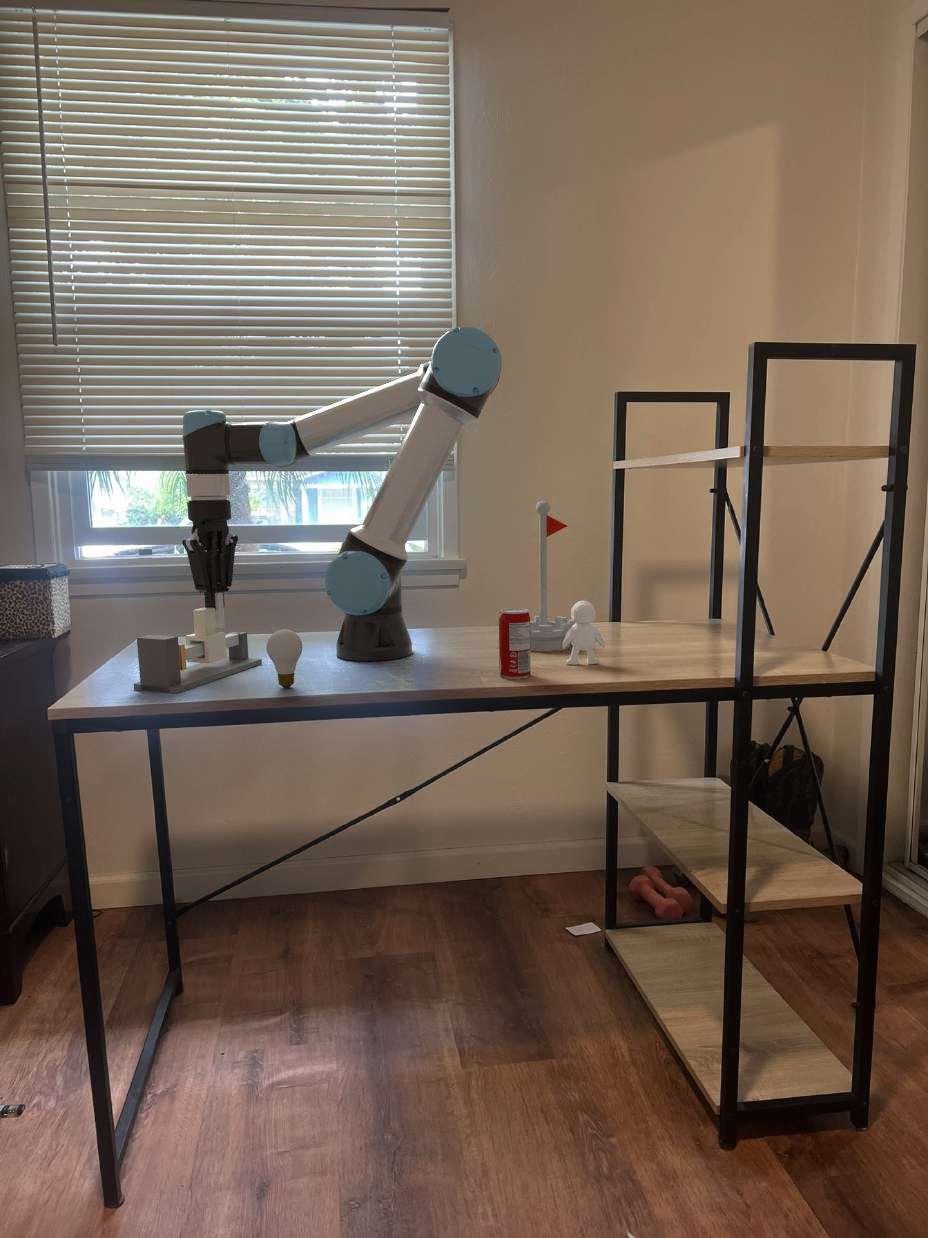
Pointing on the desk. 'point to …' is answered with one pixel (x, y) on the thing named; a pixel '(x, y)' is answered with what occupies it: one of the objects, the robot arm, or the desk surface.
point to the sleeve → (207, 636)
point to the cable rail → (168, 662)
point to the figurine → (583, 633)
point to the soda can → (514, 643)
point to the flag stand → (541, 630)
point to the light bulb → (284, 654)
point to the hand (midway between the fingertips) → (216, 627)
